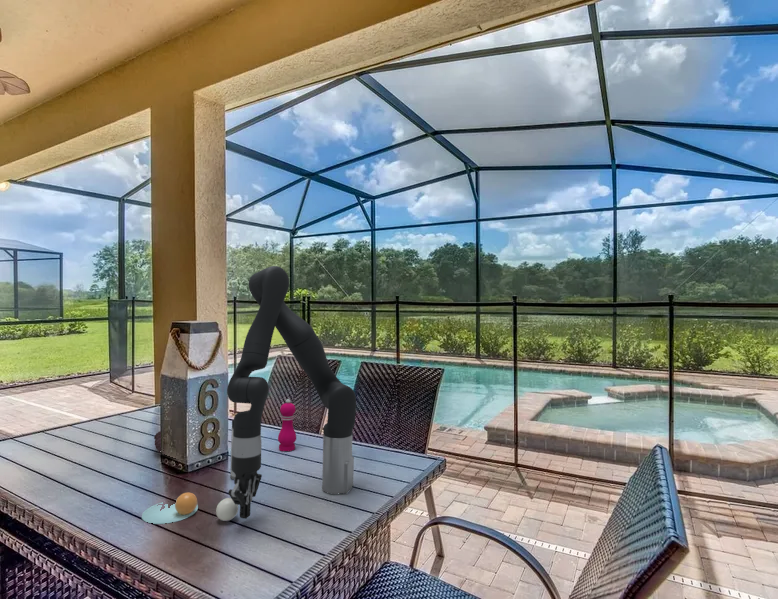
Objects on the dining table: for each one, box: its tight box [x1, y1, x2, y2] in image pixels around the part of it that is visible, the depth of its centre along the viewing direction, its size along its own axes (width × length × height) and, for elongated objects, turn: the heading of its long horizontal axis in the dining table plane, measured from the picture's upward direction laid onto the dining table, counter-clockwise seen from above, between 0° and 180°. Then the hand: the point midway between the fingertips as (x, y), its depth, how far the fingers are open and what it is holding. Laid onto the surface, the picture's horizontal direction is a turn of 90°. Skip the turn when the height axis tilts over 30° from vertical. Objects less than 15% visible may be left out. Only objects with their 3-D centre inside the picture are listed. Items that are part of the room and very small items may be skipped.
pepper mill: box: [277, 398, 297, 452], centre depth 176 cm, size 7×7×20 cm
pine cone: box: [153, 430, 162, 454], centre depth 168 cm, size 18×10×10 cm, turn 52°
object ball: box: [175, 492, 198, 515], centre depth 121 cm, size 6×6×6 cm
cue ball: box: [215, 497, 239, 522], centre depth 118 cm, size 6×6×6 cm
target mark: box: [141, 501, 199, 525], centre depth 122 cm, size 14×14×1 cm
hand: (245, 516), depth 117 cm, fingers closed
